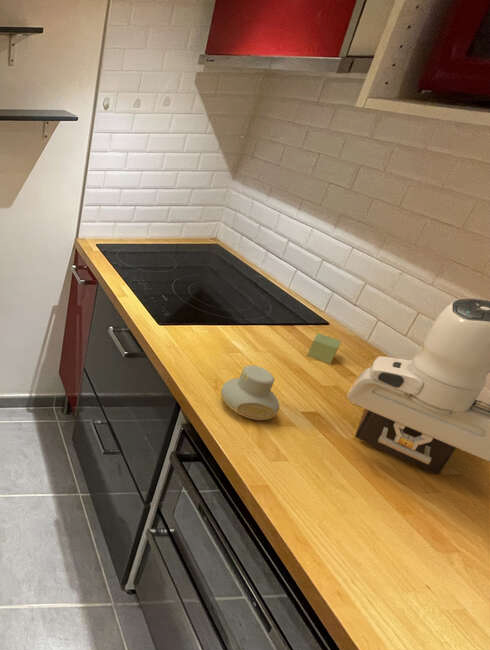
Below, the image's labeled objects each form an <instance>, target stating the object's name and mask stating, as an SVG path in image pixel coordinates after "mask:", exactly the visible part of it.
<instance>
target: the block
mask: <svg viewBox="0 0 490 650" xmlns="http://www.w3.org/2000/svg"><path fill="white" fill-rule="evenodd" d="M341 343H342V340H339V339H336V338H334V337H330V336H328V335H325V334H322V333H317V334H316V335H315V337H314V339H313V340H312V343H311V345H310V348H309V350H308V353H307V357H310V358H313V359H315V360H318V361H320V362H323V363H325V364H329V365H331V364H332V362H333V360H334V359H335V356H336V353H337V352H338V349H339V347H340V345H341Z"/></svg>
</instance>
